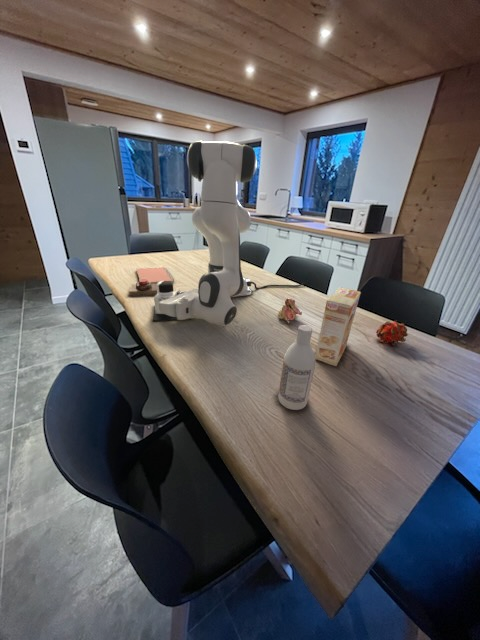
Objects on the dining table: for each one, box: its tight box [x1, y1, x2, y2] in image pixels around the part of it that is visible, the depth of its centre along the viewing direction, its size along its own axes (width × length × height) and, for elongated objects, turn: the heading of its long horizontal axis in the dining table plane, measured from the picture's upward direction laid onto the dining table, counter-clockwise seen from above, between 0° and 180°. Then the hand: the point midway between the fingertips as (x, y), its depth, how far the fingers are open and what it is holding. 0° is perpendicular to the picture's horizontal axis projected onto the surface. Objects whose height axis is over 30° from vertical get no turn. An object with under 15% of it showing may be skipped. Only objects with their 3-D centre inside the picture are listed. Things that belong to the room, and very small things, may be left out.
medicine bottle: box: [153, 281, 178, 314], centre depth 104 cm, size 7×7×12 cm
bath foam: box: [277, 324, 316, 411], centre depth 60 cm, size 7×7×20 cm
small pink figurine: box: [277, 297, 303, 324], centre depth 105 cm, size 9×10×10 cm
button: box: [138, 279, 148, 285], centre depth 123 cm, size 4×4×2 cm
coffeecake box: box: [314, 287, 362, 367], centre depth 81 cm, size 15×7×20 cm, turn 148°
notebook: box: [136, 266, 175, 284], centre depth 146 cm, size 27×17×2 cm, turn 24°
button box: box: [128, 281, 158, 297], centre depth 125 cm, size 12×10×4 cm
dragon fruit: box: [375, 320, 408, 346], centre depth 92 cm, size 8×8×12 cm
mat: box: [152, 305, 192, 322], centre depth 106 cm, size 14×14×1 cm
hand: (169, 296), depth 103 cm, fingers closed on medicine bottle, 8 cm apart
